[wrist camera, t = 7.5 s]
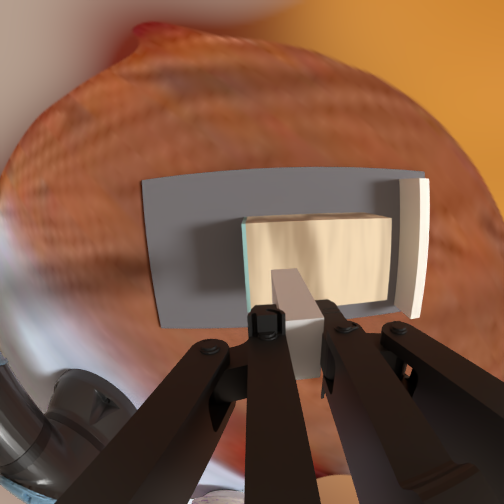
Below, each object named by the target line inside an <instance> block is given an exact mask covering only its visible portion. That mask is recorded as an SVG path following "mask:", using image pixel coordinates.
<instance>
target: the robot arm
mask: <svg viewBox="0 0 504 504" xmlns="http://www.w3.org/2000/svg"><path fill="white" fill-rule="evenodd" d="M271 283H272V304H266V305H255V306H254V307H253V308H252V309H251V312H249V313H248V315H247V322H248V335H249V339H248V340H247V341H246V342H245V343H243V344H241V345H239V346H235V347H231V348H229V346H228V344H227V343H226V342H224V341H223V340H218V339H207V340H206V339H205V340H202V341H199V342H197V343H195V344H194V345H193V346H192V347H191V348H190V349H189V350H188V352H187V353H186V354H185V355H184V356H183V357H182V359H181V360H180V361H179V362H178V363H177V365H176V366H175V367H174V368H173V369H172V370H171V372H170V373H169V374H168V375H167V376H166V377H165V379H164V380H163V381H162V382H161V383H160V384H159V386H158V387H157V388H156V389H155V390H154V391H153V393H152V394H151V395H150V396H149V397H148V398H147V400H146V401H145V402H144V403H143V404H142V405H141V407H140V408H139V409H138V410H137V409H136V408H135V406H134V405H133V404H132V402H131V401H130V400H129V399H128V398H127V397H126V396H125V395H124V394H123V393H122V392H121V391H120V390H119V389H118V388H116V387H115V386H114V385H112V384H111V383H110V382H108V381H107V380H105V379H103V378H102V377H100V376H98V375H96V374H94V373H91V372H88V371H85V370H81V369H71V370H68V371H66V372H65V373H64V374H63V375H62V376H61V377H60V378H59V379H58V380H57V382H56V384H55V387H54V394H53V396H52V398H51V401H50V404H49V407H48V410H47V412H46V413H45V414H43V413H42V412H41V411H40V409H39V408H38V407H37V405H36V404H35V403H34V402H33V400H32V399H31V398H30V396H29V395H28V393H27V392H26V391H25V389H24V388H23V386H22V385H21V383H20V382H19V380H18V379H17V377H16V376H15V374H14V373H13V371H12V370H11V368H10V366H9V365H8V360H7V359H6V358H4V356H3V355H2V353H1V351H0V485H2V486H3V487H4V488H5V489H6V490H8V491H9V492H10V493H12V494H13V495H14V496H16V497H17V498H19V499H20V500H22V501H23V502H25V503H26V504H187V503H188V501H189V500H190V498H191V496H192V494H193V492H194V490H195V488H196V486H197V484H198V482H199V480H200V478H201V476H202V474H203V472H204V470H205V468H206V466H207V464H208V462H209V460H210V458H211V456H212V454H213V452H214V450H215V448H216V446H217V444H218V442H219V440H220V438H221V435H222V433H223V431H224V429H225V427H226V425H227V423H228V420H229V418H230V416H231V414H232V412H233V409H234V407H235V403H236V401H237V400H241V399H245V398H247V415H246V454H245V493H244V504H321V502H320V497H319V492H318V487H317V481H316V476H315V471H314V466H313V461H312V456H311V451H310V446H309V441H308V436H307V431H306V426H305V422H304V417H303V412H302V407H301V403H300V398H299V393H298V389H297V384H296V380H299V379H309V378H318V377H320V372H321V368H322V371H323V382H322V391H321V399H322V398H324V394H325V393H326V396H327V399H328V402H329V406H330V409H331V412H332V415H333V418H334V421H335V424H336V427H337V431H338V434H339V437H340V440H341V443H342V447H343V450H344V453H345V456H346V460H347V463H348V466H349V470H350V473H351V476H352V479H353V483H354V486H355V489H356V493H357V497H358V500H359V504H504V382H502V381H501V380H499V379H498V378H496V377H494V376H493V375H491V374H490V373H488V372H486V371H485V370H483V369H482V368H480V367H479V366H477V365H475V364H474V363H472V362H470V361H469V360H467V359H466V358H464V357H462V356H461V355H459V354H458V353H456V352H454V351H453V350H451V349H449V348H448V347H446V346H445V345H443V344H441V343H440V342H438V341H436V340H435V339H433V338H431V337H430V336H428V335H426V334H425V333H423V332H421V331H420V330H418V329H416V328H415V327H413V326H411V325H409V324H407V323H404V322H401V321H393V322H389V323H386V324H384V325H383V327H382V331H381V334H380V333H365V331H364V330H363V329H362V327H361V326H360V325H359V324H357V323H355V322H352V321H347V320H346V318H345V317H344V315H343V314H342V313H341V311H340V310H339V308H338V307H337V305H336V304H335V303H334V302H332V301H330V300H328V299H323V300H314V298H313V296H312V294H311V293H310V291H309V289H308V287H307V285H306V284H305V282H304V280H303V278H302V276H301V275H300V273H299V271H298V269H297V268H292V269H275V270H271ZM407 364H408V365H409V366H411V367H412V372H411V375H410V376H408V375H406V374H405V371H406V367H407Z"/></svg>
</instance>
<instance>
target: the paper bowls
mask: <svg viewBox="0 0 504 504" xmlns="http://www.w3.org/2000/svg"><path fill="white" fill-rule="evenodd" d="M192 504H244V493H243V492H239V491H232V490H217V491H212V492H209V493H207V494H206V495H205V496H204V497H199V498H196V499H194V500H193V501H192Z"/></svg>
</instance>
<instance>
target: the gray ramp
mask: <svg viewBox="0 0 504 504" xmlns="http://www.w3.org/2000/svg"><path fill="white" fill-rule="evenodd" d="M410 178H425V172H421V171H410V170H396V169H379V168H353V167H289V168H262V169H244V170H230V171H217V172H206V173H196V174H187V175H178V176H170V177H162V178H155V179H147V180H142V191H143V205H144V216H145V226H146V235H147V244H148V252H149V259H150V266H151V273H152V280H153V286H154V292H155V298H156V303H157V309H158V314H159V319H160V324H161V328H237V327H248V322H247V315H248V313H249V312H247V300H246V285H245V271H244V256H243V240H242V225H241V224H242V221H243V219H244V217H251V216H270V215H291V214H317V213H353V212H365V213H370V214H375V215H379V216H384V217H389V218H392V230H391V256H390V271H389V283H388V294H387V300H381V301H374V302H365V303H357V304H348V305H338V306H337V307H338V308H339V310H340V311H341V313H342V314H343V315H344V317H345V318H346V319H351V318H359V317H366V316H373V315H380V314H387V313H393V312H400V311H401V310H400V309H398V308H397V307H396V306H395V305H394V301H395V293H396V283H397V272H398V259H399V240H400V184H399V179H410Z"/></svg>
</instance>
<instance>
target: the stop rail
mask: <svg viewBox="0 0 504 504" xmlns="http://www.w3.org/2000/svg"><path fill="white" fill-rule="evenodd" d="M399 184H400V240H399V259H398V272H397V283H396V293H395V301H394V305H395V306H396V307H397V308H398V309H400V310H401V311H402V312H403V313H404V314H405V315H406V316H408V317H409V318H410V319H414V318H419V317H420V311H421V305H422V299H423V292H424V285H425V276H426V267H427V256H428V242H429V212H430V201H429V179H425V178H410V179H399Z"/></svg>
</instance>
